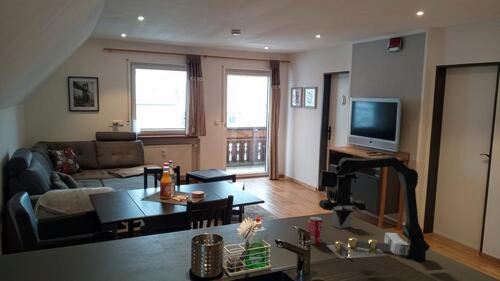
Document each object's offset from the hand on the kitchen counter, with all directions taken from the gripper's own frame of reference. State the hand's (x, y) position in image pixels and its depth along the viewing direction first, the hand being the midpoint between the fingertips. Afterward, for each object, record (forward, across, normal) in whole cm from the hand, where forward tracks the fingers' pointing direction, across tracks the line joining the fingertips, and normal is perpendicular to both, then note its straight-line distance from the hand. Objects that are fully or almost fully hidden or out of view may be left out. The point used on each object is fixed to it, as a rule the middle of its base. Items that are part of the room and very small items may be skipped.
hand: (340, 225), depth 153 cm
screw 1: (+13, -2, -1) cm, 13 cm away
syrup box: (+10, -31, -11) cm, 34 cm away
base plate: (+14, -10, -4) cm, 18 cm away
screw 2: (+12, -21, -3) cm, 24 cm away
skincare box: (+14, -20, -37) cm, 44 cm away
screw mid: (+12, -12, -6) cm, 18 cm away
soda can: (+14, +4, -16) cm, 22 cm away
